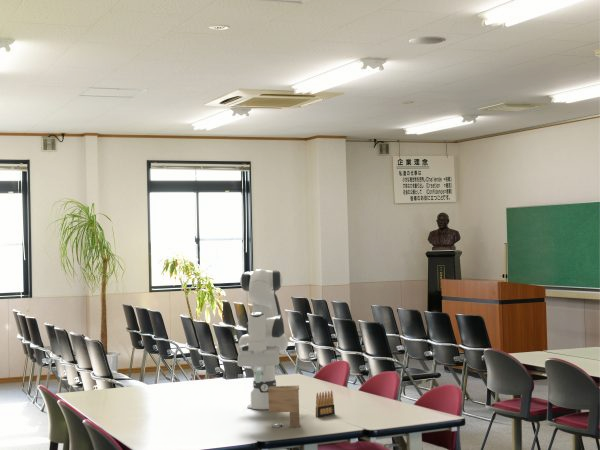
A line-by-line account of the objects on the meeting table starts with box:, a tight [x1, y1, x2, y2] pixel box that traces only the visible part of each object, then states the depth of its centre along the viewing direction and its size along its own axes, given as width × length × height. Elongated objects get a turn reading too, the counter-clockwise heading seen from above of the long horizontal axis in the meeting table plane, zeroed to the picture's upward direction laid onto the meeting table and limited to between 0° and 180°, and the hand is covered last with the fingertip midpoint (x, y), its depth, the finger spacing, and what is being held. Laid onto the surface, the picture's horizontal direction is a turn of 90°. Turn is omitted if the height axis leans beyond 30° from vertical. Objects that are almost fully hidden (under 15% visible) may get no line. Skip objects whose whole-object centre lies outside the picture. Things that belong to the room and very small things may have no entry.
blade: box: [255, 367, 262, 383], centre depth 430 cm, size 22×2×4 cm, turn 0°
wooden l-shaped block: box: [268, 385, 301, 428], centre depth 419 cm, size 7×15×18 cm, turn 91°
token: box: [271, 422, 283, 428], centre depth 418 cm, size 5×5×1 cm
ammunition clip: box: [315, 390, 336, 419], centre depth 440 cm, size 11×2×12 cm, turn 127°
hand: (258, 375), depth 430 cm, fingers closed on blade, 2 cm apart
